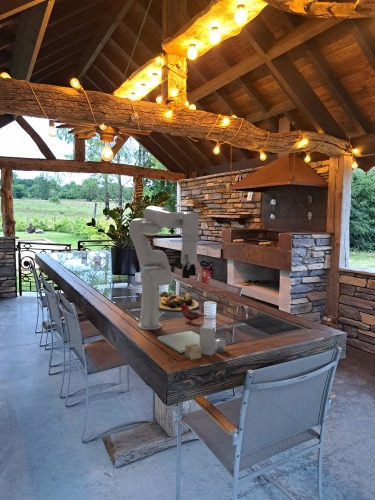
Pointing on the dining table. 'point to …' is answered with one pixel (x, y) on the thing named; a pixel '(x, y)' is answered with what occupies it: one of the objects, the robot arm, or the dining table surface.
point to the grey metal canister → (220, 345)
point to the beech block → (193, 351)
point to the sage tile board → (180, 340)
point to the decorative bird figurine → (190, 313)
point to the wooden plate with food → (176, 302)
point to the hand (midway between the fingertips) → (189, 276)
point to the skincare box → (207, 340)
